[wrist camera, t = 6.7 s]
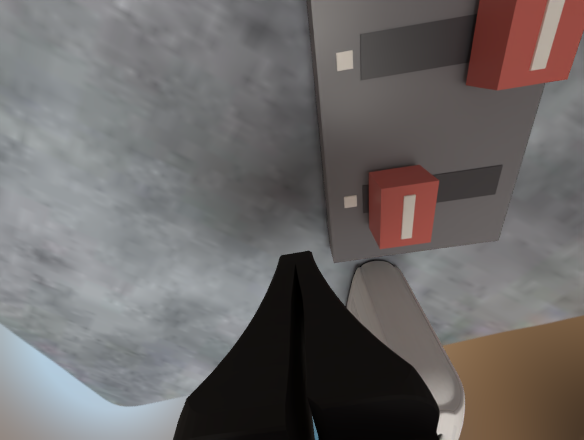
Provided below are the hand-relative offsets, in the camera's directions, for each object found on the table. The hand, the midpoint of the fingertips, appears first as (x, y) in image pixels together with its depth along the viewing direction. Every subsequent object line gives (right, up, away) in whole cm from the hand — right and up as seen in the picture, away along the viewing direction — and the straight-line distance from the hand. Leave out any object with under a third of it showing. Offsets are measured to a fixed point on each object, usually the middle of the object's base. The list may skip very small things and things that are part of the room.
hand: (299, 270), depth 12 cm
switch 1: (+6, +4, +5) cm, 9 cm away
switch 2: (+10, +11, +1) cm, 15 cm away
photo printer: (+7, -5, +14) cm, 16 cm away
